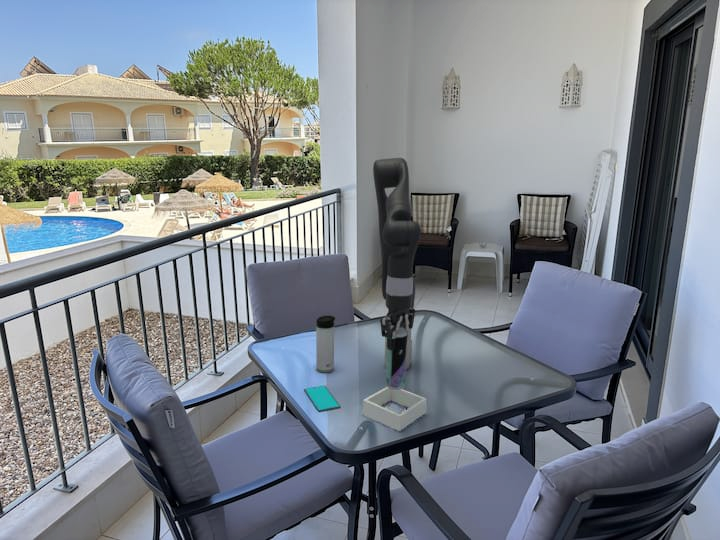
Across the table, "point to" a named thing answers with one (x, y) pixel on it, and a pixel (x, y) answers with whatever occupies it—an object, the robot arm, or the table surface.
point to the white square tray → (388, 417)
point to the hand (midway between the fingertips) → (396, 346)
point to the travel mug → (325, 344)
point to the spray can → (397, 361)
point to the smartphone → (322, 398)
